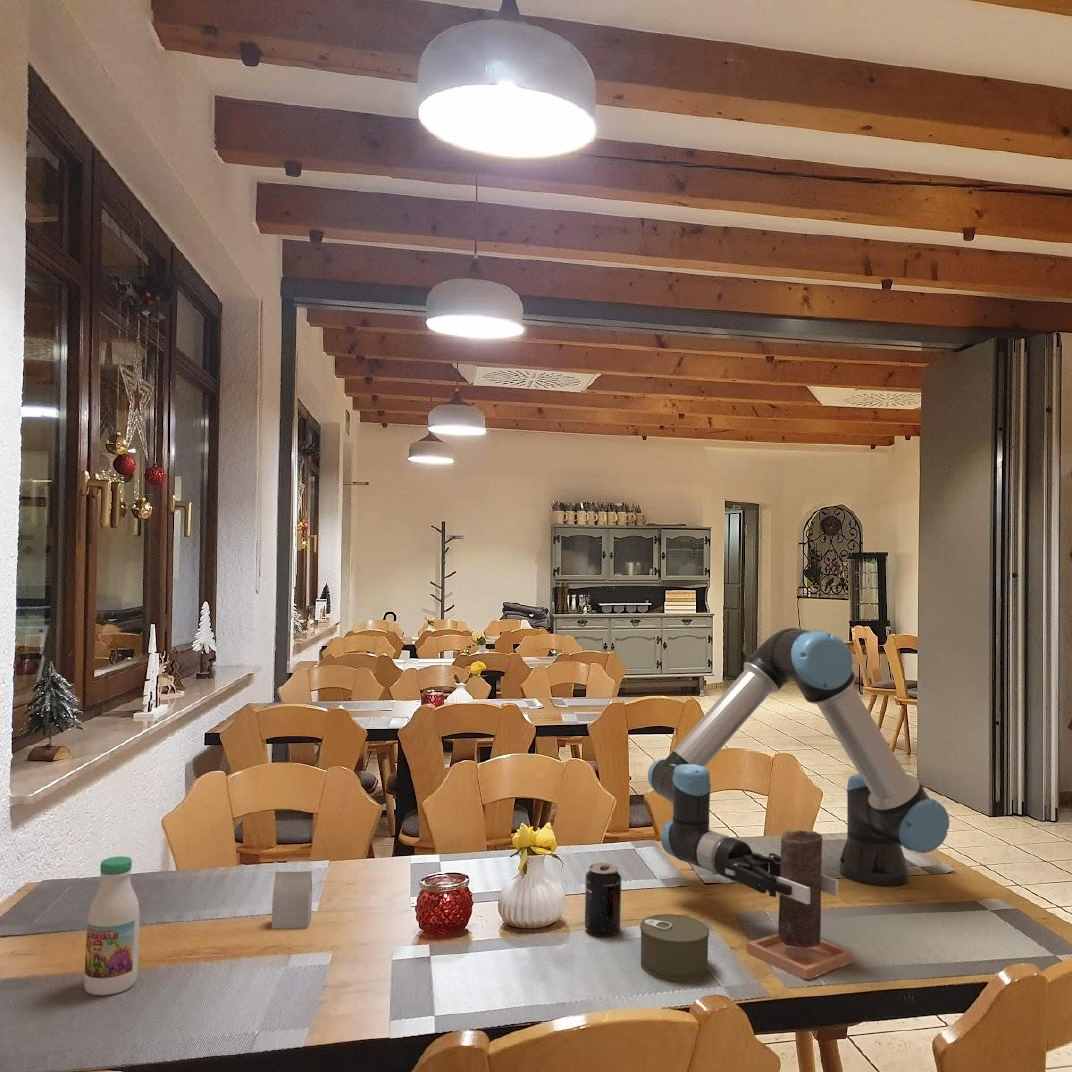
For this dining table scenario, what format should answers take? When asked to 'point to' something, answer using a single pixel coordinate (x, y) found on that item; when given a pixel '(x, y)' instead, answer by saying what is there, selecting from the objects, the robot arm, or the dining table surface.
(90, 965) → the milk bottle
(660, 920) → the can
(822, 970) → the dish
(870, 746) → the robot arm
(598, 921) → the beverage can
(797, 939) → the candle
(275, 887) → the gray rectangular block
